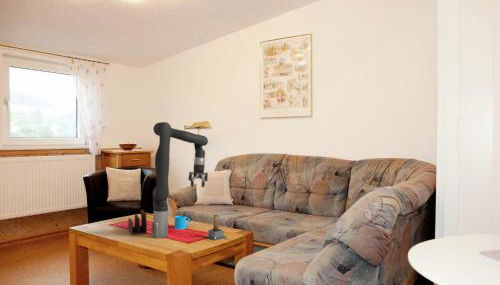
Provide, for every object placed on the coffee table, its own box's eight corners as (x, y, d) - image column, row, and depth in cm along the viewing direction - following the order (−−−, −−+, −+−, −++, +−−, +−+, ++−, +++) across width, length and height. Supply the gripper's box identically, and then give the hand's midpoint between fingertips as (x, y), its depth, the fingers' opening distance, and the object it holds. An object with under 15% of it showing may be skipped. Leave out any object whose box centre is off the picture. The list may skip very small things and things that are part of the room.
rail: (215, 237, 244) (215, 215, 244) (212, 236, 247) (212, 215, 247) (219, 236, 247) (220, 215, 247) (216, 235, 249) (216, 214, 249)
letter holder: (142, 227, 273) (142, 208, 272) (146, 234, 255) (147, 213, 254) (127, 228, 268) (128, 209, 268) (131, 235, 250) (131, 214, 250)
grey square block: (214, 240, 240) (214, 232, 240) (205, 237, 247) (205, 229, 247) (226, 237, 246) (226, 230, 246) (217, 234, 254) (217, 227, 254)
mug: (177, 230, 266) (177, 218, 266) (172, 227, 272) (172, 216, 272) (192, 227, 273) (192, 216, 273) (187, 225, 280) (187, 214, 280)
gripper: (193, 163, 259) (191, 187, 258) (210, 164, 268) (208, 187, 267) (187, 163, 265) (186, 186, 264) (204, 164, 274) (203, 186, 273)
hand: (197, 186), depth 265 cm, fingers open, 8 cm apart
